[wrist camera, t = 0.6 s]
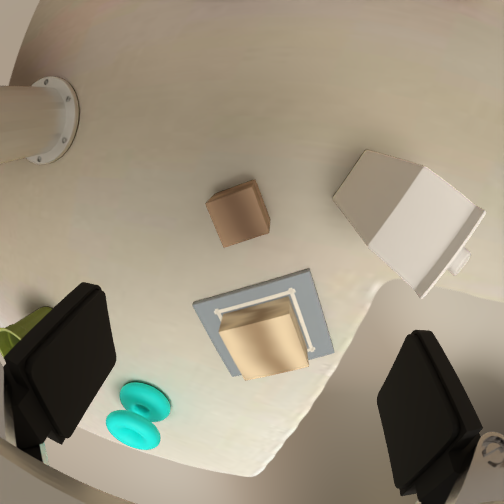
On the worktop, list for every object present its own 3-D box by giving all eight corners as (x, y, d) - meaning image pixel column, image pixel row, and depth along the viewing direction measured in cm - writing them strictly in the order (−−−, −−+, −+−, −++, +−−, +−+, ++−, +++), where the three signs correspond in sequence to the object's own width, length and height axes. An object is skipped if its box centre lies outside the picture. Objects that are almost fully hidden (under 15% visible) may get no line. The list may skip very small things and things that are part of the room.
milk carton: (331, 198, 34) (384, 272, 17) (365, 148, 31) (454, 175, 14) (376, 231, 35) (449, 320, 18) (409, 184, 32) (509, 241, 15)
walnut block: (230, 232, 37) (223, 247, 32) (214, 193, 35) (205, 203, 30) (270, 219, 36) (269, 232, 31) (255, 179, 34) (251, 186, 29)
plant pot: (51, 285, 42) (11, 321, 32) (89, 341, 46) (59, 384, 36) (21, 303, 45) (-14, 335, 35) (55, 352, 49) (27, 388, 38)
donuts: (125, 451, 44) (92, 419, 40) (140, 414, 53) (113, 381, 50) (168, 453, 42) (135, 419, 38) (181, 411, 51) (154, 376, 48)
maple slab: (247, 361, 43) (245, 380, 40) (223, 314, 40) (218, 332, 37) (306, 347, 41) (308, 366, 38) (288, 296, 38) (289, 313, 35)
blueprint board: (232, 373, 45) (232, 377, 45) (193, 302, 41) (192, 305, 40) (333, 349, 42) (334, 353, 41) (309, 268, 38) (309, 271, 37)
